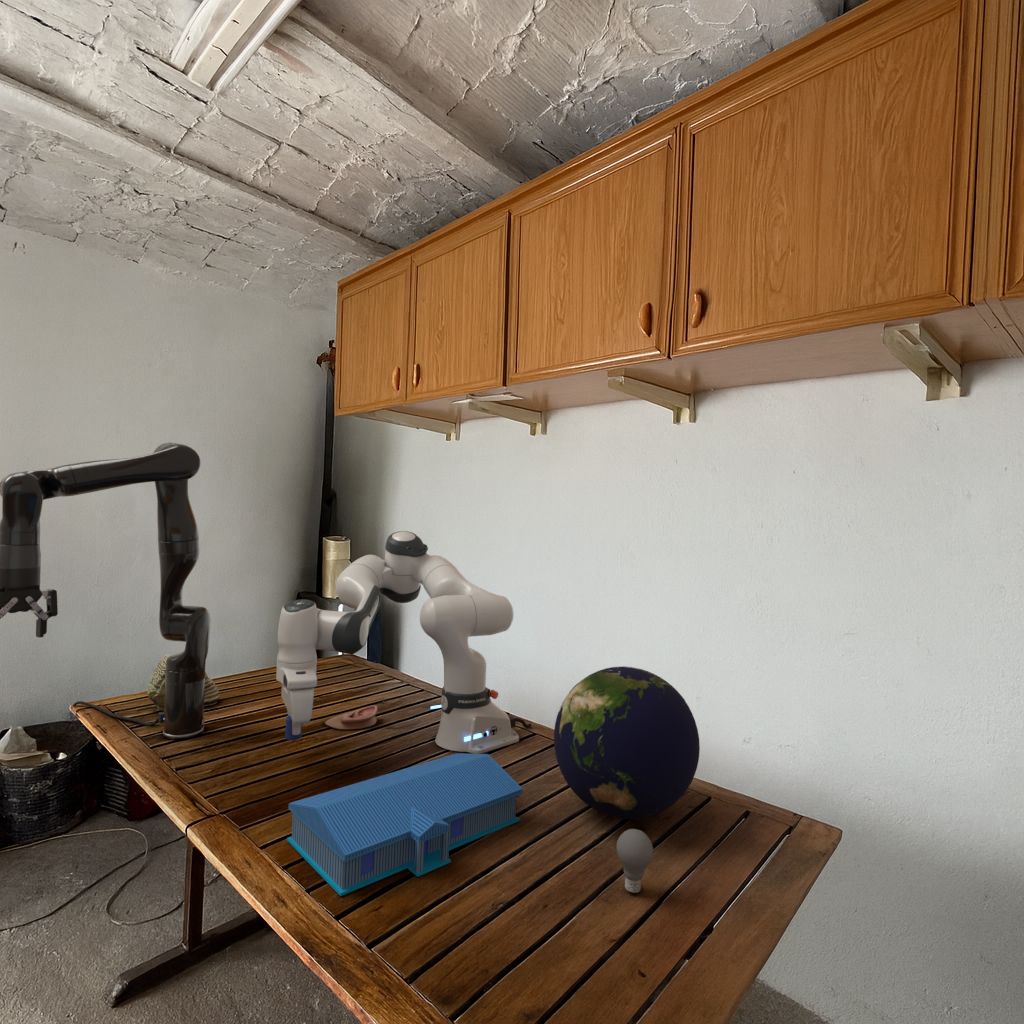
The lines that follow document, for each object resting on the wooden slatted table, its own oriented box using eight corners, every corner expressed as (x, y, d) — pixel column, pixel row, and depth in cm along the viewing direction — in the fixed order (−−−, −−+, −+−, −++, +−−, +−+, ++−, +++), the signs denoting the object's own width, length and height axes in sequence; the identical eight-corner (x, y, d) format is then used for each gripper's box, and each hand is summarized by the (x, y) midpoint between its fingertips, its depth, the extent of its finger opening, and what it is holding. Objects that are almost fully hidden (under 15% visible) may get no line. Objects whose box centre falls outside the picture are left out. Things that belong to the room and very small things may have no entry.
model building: (350, 906, 98) (352, 842, 98) (285, 839, 117) (287, 785, 116) (531, 827, 125) (533, 776, 125) (455, 782, 143) (457, 738, 143)
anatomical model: (320, 712, 173) (339, 699, 184) (319, 726, 173) (339, 713, 184) (365, 717, 170) (382, 704, 181) (364, 732, 170) (381, 718, 181)
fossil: (144, 707, 182) (145, 655, 182) (212, 696, 194) (213, 647, 194) (151, 716, 175) (153, 662, 175) (221, 703, 188) (223, 653, 188)
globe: (530, 827, 125) (537, 675, 124) (573, 769, 152) (579, 645, 152) (686, 866, 113) (694, 700, 113) (702, 796, 141) (709, 663, 141)
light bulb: (610, 879, 108) (613, 822, 108) (644, 879, 109) (647, 822, 109) (619, 902, 102) (622, 840, 102) (655, 901, 103) (658, 840, 103)
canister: (304, 735, 149) (305, 715, 149) (296, 741, 145) (297, 721, 145) (290, 733, 150) (291, 714, 149) (282, 739, 146) (282, 719, 146)
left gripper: (-16, 568, 128) (-18, 648, 129) (64, 564, 140) (62, 637, 140) (-30, 565, 132) (-32, 642, 133) (49, 561, 144) (47, 632, 145)
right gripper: (276, 661, 155) (274, 717, 155) (288, 684, 137) (286, 747, 137) (303, 659, 158) (300, 714, 158) (318, 681, 140) (316, 743, 140)
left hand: (16, 639), depth 137 cm, fingers open, 8 cm apart
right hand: (294, 730), depth 147 cm, fingers closed on canister, 4 cm apart
